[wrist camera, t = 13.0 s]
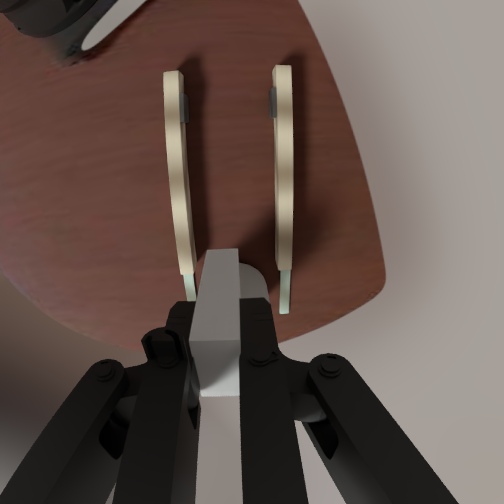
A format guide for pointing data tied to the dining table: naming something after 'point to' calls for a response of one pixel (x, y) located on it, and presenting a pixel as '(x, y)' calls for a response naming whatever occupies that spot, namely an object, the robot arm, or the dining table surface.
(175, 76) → the chute
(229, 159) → the dining table surface
